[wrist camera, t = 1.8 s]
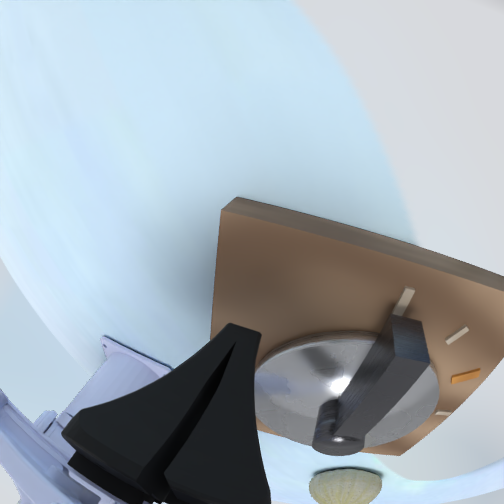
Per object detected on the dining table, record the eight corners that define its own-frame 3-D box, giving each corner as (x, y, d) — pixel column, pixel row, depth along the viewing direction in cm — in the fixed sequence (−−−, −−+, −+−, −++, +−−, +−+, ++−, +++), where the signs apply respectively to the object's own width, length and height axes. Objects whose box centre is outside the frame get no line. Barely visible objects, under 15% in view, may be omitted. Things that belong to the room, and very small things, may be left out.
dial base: (400, 438, 20) (399, 457, 18) (215, 395, 23) (205, 414, 21) (526, 285, 11) (541, 307, 9) (236, 196, 14) (219, 211, 12)
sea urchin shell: (354, 472, 22) (371, 523, 18) (380, 445, 27) (395, 491, 23) (289, 481, 27) (307, 526, 23) (323, 459, 32) (338, 500, 28)
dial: (382, 446, 18) (379, 482, 15) (242, 416, 20) (227, 452, 17) (492, 326, 11) (512, 375, 8) (278, 269, 13) (256, 320, 10)
